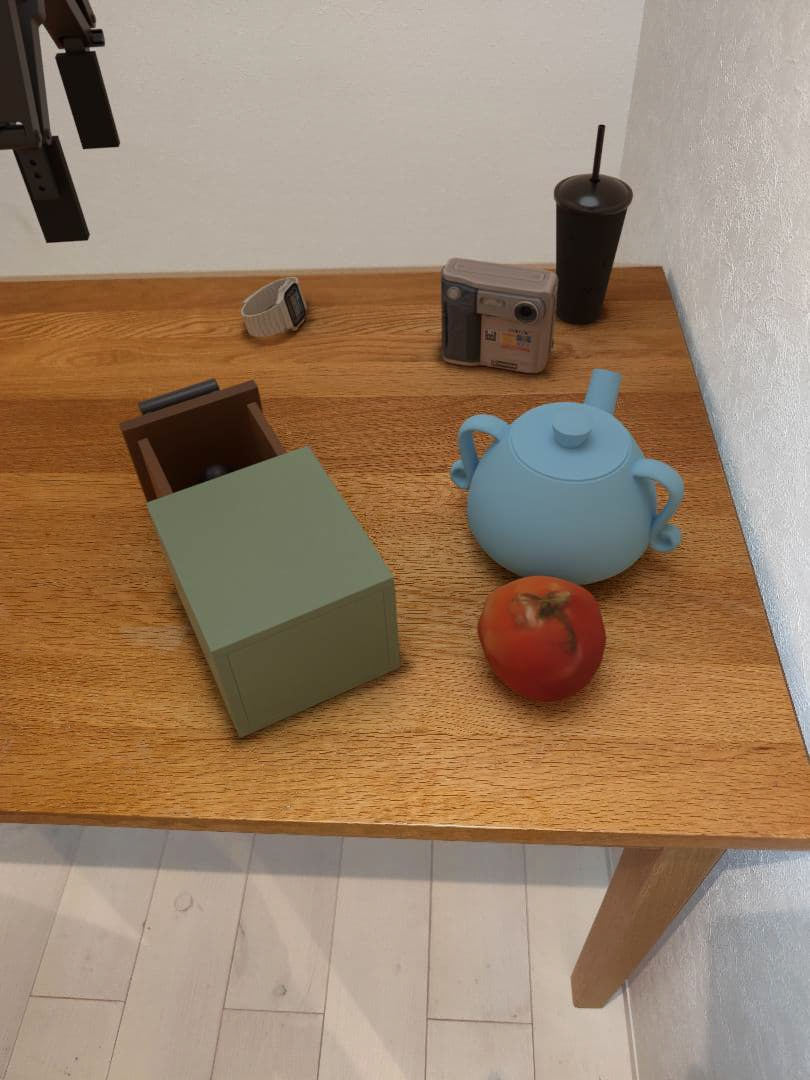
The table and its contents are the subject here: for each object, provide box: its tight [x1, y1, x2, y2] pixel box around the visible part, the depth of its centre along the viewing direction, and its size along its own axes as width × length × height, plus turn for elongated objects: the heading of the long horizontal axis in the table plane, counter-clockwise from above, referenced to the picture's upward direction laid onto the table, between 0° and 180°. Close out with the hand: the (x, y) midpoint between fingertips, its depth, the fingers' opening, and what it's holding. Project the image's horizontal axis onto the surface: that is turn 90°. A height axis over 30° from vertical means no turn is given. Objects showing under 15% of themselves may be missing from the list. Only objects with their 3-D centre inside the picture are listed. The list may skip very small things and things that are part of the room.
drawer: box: [118, 377, 288, 503], centre depth 74 cm, size 19×12×9 cm, turn 27°
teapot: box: [449, 368, 685, 586], centre depth 72 cm, size 20×20×13 cm
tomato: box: [476, 576, 607, 704], centre depth 64 cm, size 9×9×8 cm
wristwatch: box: [240, 276, 308, 338], centre depth 96 cm, size 9×6×5 cm
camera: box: [440, 257, 558, 374], centre depth 89 cm, size 11×6×10 cm, turn 70°
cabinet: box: [145, 445, 401, 739], centre depth 66 cm, size 15×13×11 cm
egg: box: [197, 463, 236, 485], centre depth 74 cm, size 4×4×5 cm
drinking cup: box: [553, 124, 634, 325], centre depth 90 cm, size 8×8×20 cm
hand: (86, 189), depth 63 cm, fingers open, 13 cm apart
